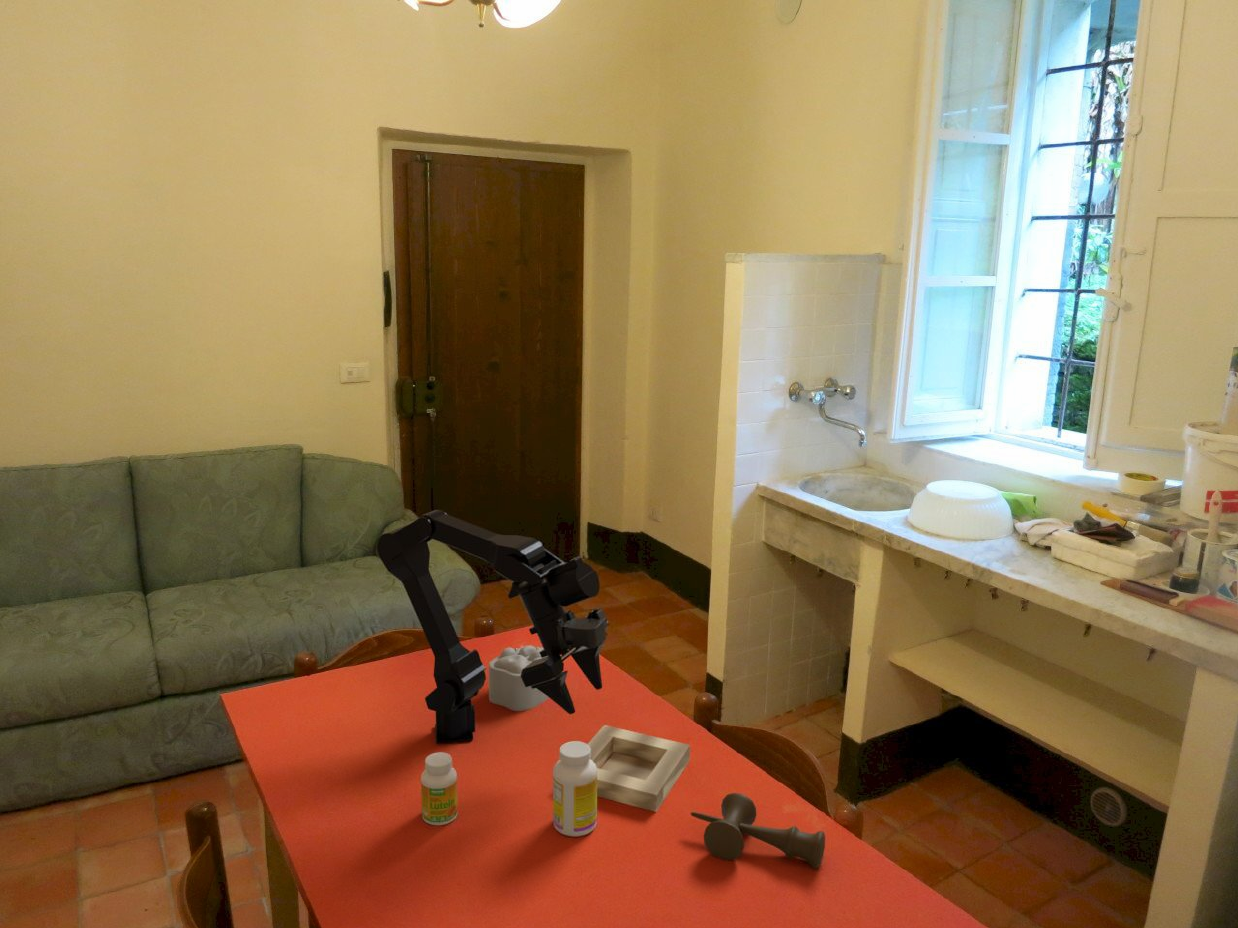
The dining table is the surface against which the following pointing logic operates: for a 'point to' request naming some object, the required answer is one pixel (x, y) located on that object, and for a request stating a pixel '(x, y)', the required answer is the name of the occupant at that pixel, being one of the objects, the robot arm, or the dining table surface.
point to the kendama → (756, 833)
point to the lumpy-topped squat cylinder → (514, 679)
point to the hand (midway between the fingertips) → (586, 700)
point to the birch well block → (636, 766)
